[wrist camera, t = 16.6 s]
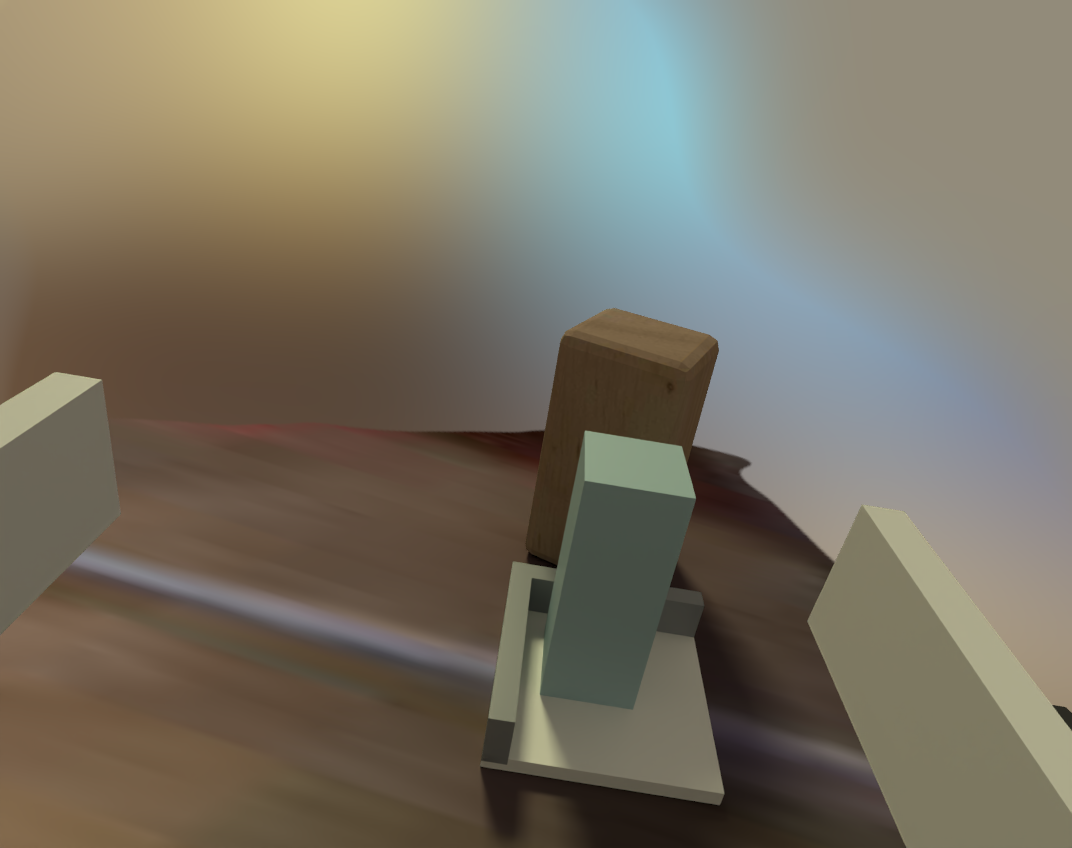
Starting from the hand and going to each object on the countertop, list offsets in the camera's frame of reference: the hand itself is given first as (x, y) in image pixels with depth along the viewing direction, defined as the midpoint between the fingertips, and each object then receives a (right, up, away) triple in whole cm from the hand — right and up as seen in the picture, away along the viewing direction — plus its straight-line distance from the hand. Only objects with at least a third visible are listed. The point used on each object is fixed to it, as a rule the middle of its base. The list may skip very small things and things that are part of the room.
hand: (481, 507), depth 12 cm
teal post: (+4, -15, +34) cm, 37 cm away
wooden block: (+6, -10, +48) cm, 49 cm away
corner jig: (+5, -16, +34) cm, 38 cm away
